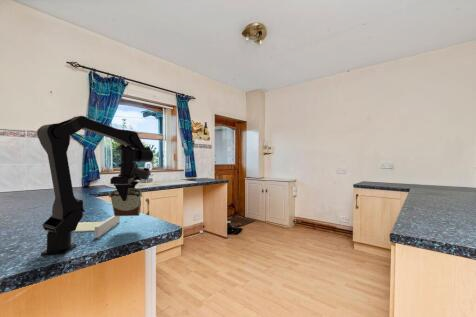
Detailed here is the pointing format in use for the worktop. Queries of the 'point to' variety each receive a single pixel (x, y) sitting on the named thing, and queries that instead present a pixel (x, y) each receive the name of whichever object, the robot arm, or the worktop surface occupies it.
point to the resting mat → (86, 226)
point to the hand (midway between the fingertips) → (127, 199)
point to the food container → (126, 203)
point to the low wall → (106, 225)
